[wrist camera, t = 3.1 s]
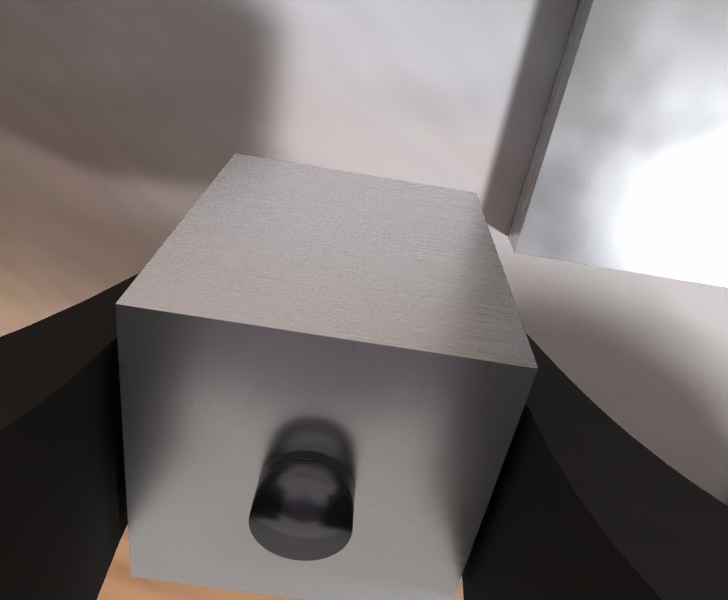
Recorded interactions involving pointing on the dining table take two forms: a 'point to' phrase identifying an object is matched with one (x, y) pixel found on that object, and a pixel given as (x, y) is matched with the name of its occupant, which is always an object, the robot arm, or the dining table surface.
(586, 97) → the press
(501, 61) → the dining table surface
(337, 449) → the block
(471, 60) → the dining table surface
